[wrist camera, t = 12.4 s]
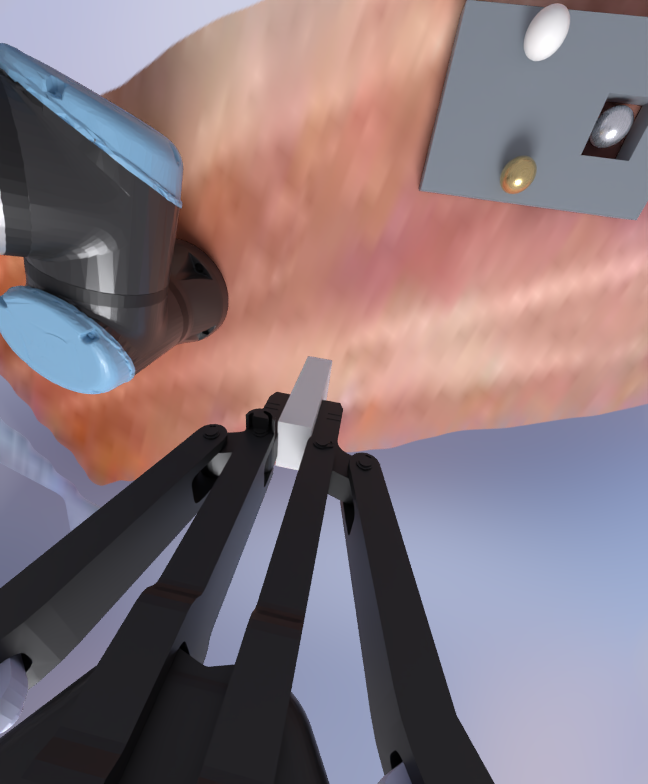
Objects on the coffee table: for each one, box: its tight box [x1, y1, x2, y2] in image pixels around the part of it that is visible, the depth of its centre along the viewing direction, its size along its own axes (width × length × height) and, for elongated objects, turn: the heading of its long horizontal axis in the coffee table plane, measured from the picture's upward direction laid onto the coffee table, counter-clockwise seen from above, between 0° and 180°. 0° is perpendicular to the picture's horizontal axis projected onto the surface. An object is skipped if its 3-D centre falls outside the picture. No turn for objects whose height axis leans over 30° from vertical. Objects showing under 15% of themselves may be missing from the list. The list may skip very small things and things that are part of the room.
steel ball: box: [589, 105, 634, 148], centre depth 30 cm, size 3×3×3 cm
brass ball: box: [500, 156, 537, 194], centre depth 31 cm, size 3×3×3 cm
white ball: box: [524, 3, 570, 61], centre depth 26 cm, size 3×3×3 cm
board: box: [419, 0, 648, 220], centre depth 31 cm, size 23×14×2 cm, turn 83°
